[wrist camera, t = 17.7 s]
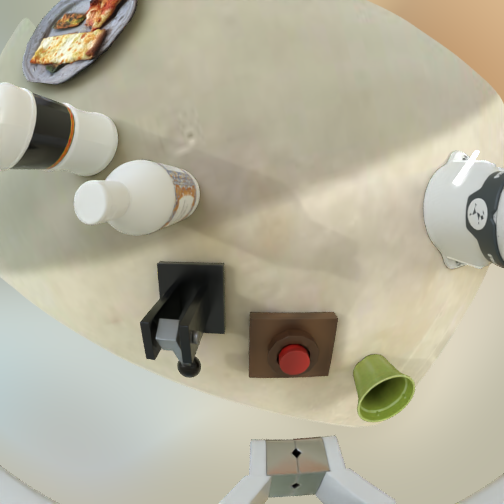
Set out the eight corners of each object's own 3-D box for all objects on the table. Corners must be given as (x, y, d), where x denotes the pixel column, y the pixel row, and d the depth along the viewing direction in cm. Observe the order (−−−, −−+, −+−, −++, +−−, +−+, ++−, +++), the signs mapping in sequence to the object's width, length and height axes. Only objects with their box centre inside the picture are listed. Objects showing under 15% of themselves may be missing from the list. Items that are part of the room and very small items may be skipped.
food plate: (165, -17, 26) (159, -28, 23) (96, 93, 31) (84, 87, 28) (71, -10, 25) (63, -17, 21) (16, 82, 29) (5, 79, 26)
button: (309, 343, 35) (311, 350, 33) (306, 367, 36) (308, 374, 34) (279, 344, 35) (280, 351, 33) (277, 367, 36) (278, 375, 34)
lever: (203, 360, 37) (201, 381, 34) (181, 358, 37) (179, 378, 34) (184, 316, 27) (180, 345, 25) (155, 314, 27) (149, 341, 25)
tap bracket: (225, 330, 39) (213, 386, 26) (165, 326, 39) (134, 376, 26) (224, 262, 37) (208, 299, 24) (159, 261, 37) (118, 294, 24)
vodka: (129, 153, 33) (-72, 121, 4) (82, 187, 34) (-100, 210, 5) (109, 103, 32) (-55, 34, 2) (65, 138, 33) (-97, 120, 3)
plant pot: (338, 392, 41) (351, 426, 33) (348, 347, 39) (365, 380, 31) (386, 385, 41) (404, 415, 33) (399, 342, 39) (422, 370, 31)
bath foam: (181, 231, 36) (105, 277, 16) (141, 202, 35) (41, 219, 15) (211, 187, 34) (155, 184, 15) (169, 158, 34) (81, 131, 14)
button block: (334, 311, 38) (341, 324, 34) (325, 367, 40) (330, 382, 36) (250, 312, 38) (249, 325, 34) (249, 369, 40) (248, 385, 36)
